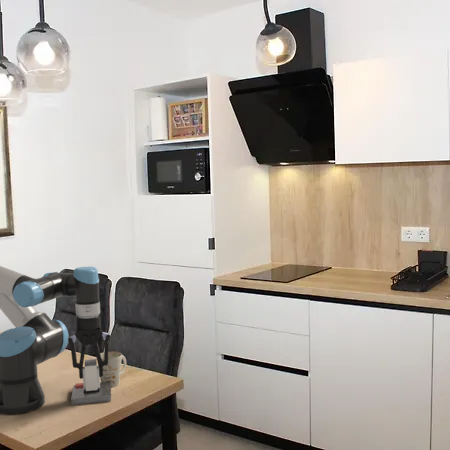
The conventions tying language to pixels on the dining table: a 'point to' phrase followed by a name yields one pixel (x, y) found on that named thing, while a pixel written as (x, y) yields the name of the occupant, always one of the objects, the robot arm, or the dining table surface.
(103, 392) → the socket plate
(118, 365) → the mug
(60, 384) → the dining table surface
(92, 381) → the plug
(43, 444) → the dining table surface
